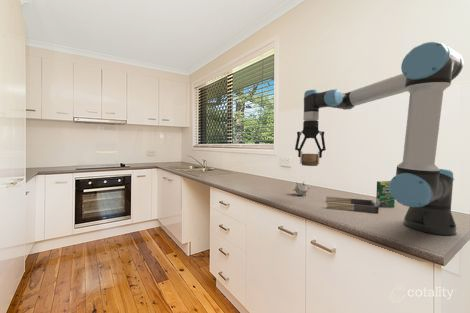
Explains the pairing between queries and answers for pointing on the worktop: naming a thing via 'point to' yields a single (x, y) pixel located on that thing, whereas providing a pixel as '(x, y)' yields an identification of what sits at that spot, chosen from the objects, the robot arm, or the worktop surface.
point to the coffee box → (384, 195)
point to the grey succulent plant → (301, 189)
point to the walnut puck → (310, 159)
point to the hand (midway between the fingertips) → (309, 163)
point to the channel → (352, 204)
